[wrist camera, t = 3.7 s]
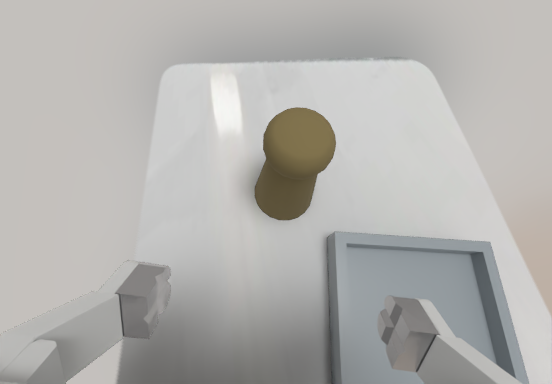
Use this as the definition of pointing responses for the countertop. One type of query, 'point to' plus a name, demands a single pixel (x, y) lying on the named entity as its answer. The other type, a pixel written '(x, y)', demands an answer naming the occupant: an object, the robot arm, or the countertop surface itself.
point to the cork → (293, 161)
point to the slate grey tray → (414, 284)
